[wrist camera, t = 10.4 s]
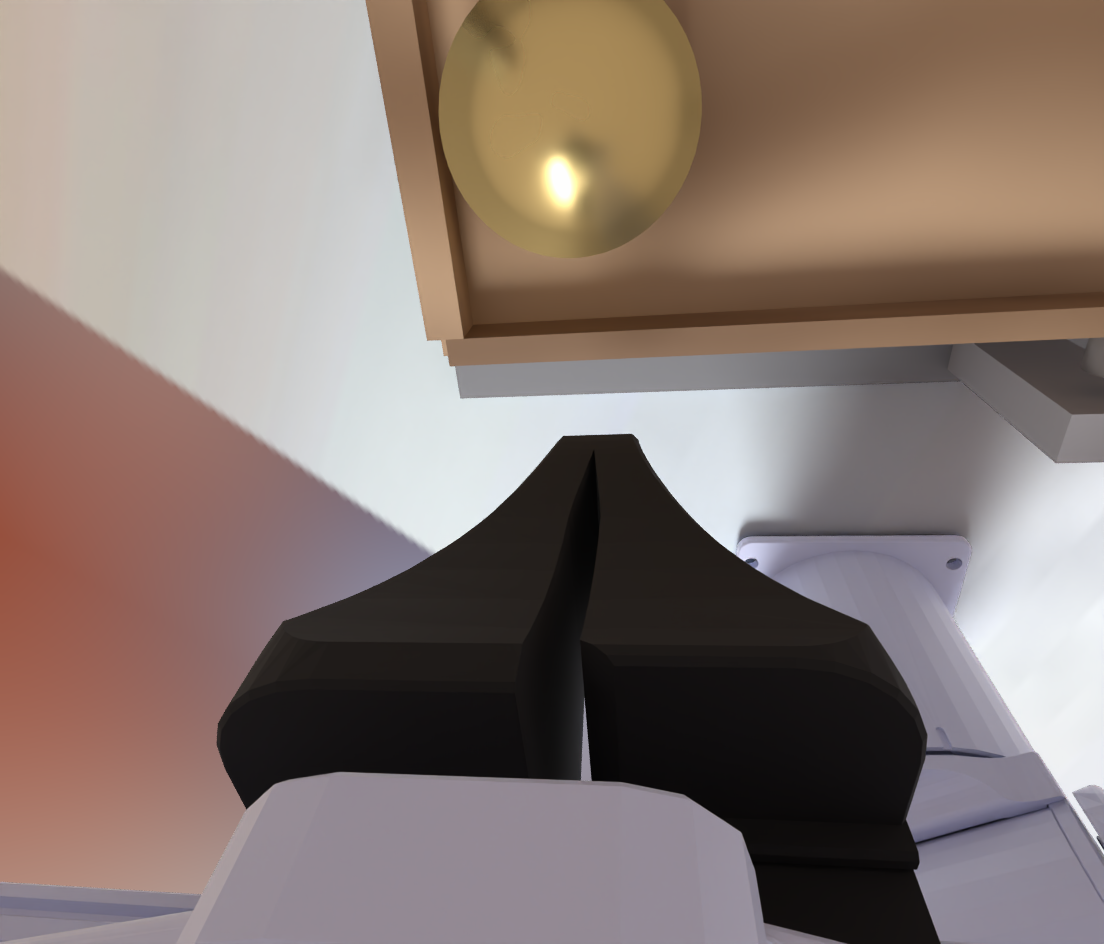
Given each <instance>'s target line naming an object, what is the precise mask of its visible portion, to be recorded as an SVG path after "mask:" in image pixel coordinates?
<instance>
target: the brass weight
mask: <svg viewBox="0 0 1104 944" xmlns="http://www.w3.org/2000/svg"><path fill="white" fill-rule="evenodd" d="M701 117H702V93H701V86H700V78H699V72H698V68H697V64H696V60H695V57H694V53H693V51H692V48H691V46H690V43H689V41H688V38H687V36H686V34H685V32H684V30H683V28H682V26H681V25H680V23H679V21H678V19H677V17H676V16H675V15H674V13H673V12H672V11H671V9H670V8H669V7H668V5H667V4H666V3H665V1H664V0H479V1H478V2H477V3H476V5H475V6H474V7H473V9H472V10H471V11H470V13H469V14H468V15H467V17H466V18H465V19H464V21H463V23H462V25H461V27H460V28H459V30H458V32H457V34H456V35H455V38H454V40H453V42H452V45H451V47H450V50H449V52H448V55H447V58H446V62H445V65H444V69H443V73H442V79H441V85H440V91H439V126H440V135H441V140H442V145H443V150H444V154H445V157H446V160H447V164H448V167H449V169H450V172H451V174H452V176H453V179H454V181H455V183H456V185H457V187H458V189H459V190H460V192H461V194H462V195H463V197H464V199H465V200H466V202H467V203H468V204H469V206H470V207H471V208H472V210H473V211H474V212H475V214H476V215H477V216H478V217H479V218H480V219H481V220H482V221H483V222H484V223H485V224H486V225H487V226H488V227H489V228H491V229H492V230H493V231H494V232H496V233H497V234H498V235H499V236H501V237H502V238H504V239H506V240H507V241H509V242H510V243H512V244H514V245H516V246H518V247H520V248H523V249H525V250H527V251H530V252H533V253H537V254H540V255H544V256H550V257H556V258H581V257H589V256H593V255H597V254H601V253H605V252H608V251H610V250H613V249H615V248H618V247H620V246H622V245H624V244H625V243H627V242H629V241H631V240H633V239H634V238H636V237H637V236H638V235H640V234H641V233H642V232H644V231H645V230H647V229H648V228H649V227H650V226H651V225H652V224H653V223H654V222H655V221H656V220H657V219H658V218H659V217H660V216H661V215H662V214H663V213H664V211H665V210H666V209H667V208H668V207H669V205H670V204H671V203H672V201H673V200H674V198H675V197H676V195H677V193H678V192H679V190H680V189H681V187H682V185H683V183H684V181H685V179H686V177H687V175H688V173H689V170H690V167H691V165H692V162H693V159H694V156H695V153H696V149H697V144H698V140H699V135H700V127H701Z"/></svg>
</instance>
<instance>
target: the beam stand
mask: <svg viewBox="0 0 1104 944" xmlns="http://www.w3.org/2000/svg"><path fill="white" fill-rule="evenodd" d="M1088 340H1089V338H1079V339H1056V340H1033V341H1011V342H988V343H966V344H943V345H920V346H898V347H875V348H852V349H830V350H807V351H785V352H762V353H739V354H717V355H694V356H672V357H649V358H626V359H604V360H581V361H559V362H536V363H513V364H491V365H468V366H455V368H456V374H457V380H458V386H459V392H460V398H485V397H514V396H543V395H572V394H602V393H631V392H660V391H689V390H718V389H747V388H776V387H805V386H834V385H863V384H892V383H922V382H951V381H961V382H963V383H964V384H965V385H966V386H967V387H968V388H969V389H971V390H972V391H973V392H974V393H975V394H976V395H978V396H979V397H980V398H981V399H982V400H983V401H985V402H986V403H987V404H988V405H989V406H990V407H991V408H993V409H994V410H995V411H996V412H997V413H998V414H1000V415H1001V416H1002V417H1003V418H1004V419H1005V420H1006V421H1008V422H1009V423H1010V424H1011V425H1012V426H1013V427H1015V428H1016V429H1017V430H1018V431H1019V432H1020V433H1022V434H1023V435H1024V436H1025V437H1026V438H1027V439H1028V440H1030V441H1031V442H1032V443H1033V444H1034V445H1035V446H1037V447H1038V448H1039V449H1040V450H1041V451H1042V452H1043V453H1045V454H1046V455H1047V456H1048V457H1049V458H1050V459H1052V460H1053V461H1054V462H1055V463H1088V462H1104V377H1099V376H1095V375H1092V374H1089V373H1087V372H1085V371H1083V370H1082V369H1081V368H1080V364H1081V361H1082V358H1083V355H1084V352H1085V349H1086V346H1087V343H1088Z"/></svg>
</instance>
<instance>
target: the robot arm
mask: <svg viewBox="0 0 1104 944" xmlns="http://www.w3.org/2000/svg"><path fill="white" fill-rule="evenodd" d="M971 553H972V547H971V545H970V543H969V542H968V541H967V539H966V538H964V537H962V536H957V535H915V536H750V537H746V538H744V539H742V540H741V541H740V542H739V543H738V545H737V553H736V555H735V554H733V553H732V552H730V551H729V550H727V549H726V548H725V547H724V546H722V545H721V544H720V543H718V542H717V541H716V540H715V539H714V538H713V537H711V536H710V535H709V534H708V533H707V532H706V531H705V530H704V529H703V528H702V527H701V526H700V525H699V524H698V523H696V521H695V520H694V519H693V518H692V517H691V516H690V515H689V514H688V513H687V512H686V511H685V510H684V509H683V507H682V506H681V505H680V504H679V503H678V502H677V501H676V499H675V498H674V497H673V496H672V494H671V493H670V492H669V491H668V489H667V488H666V487H665V485H664V484H663V483H662V481H661V480H660V478H659V477H658V476H657V474H656V473H655V471H654V470H653V468H652V467H651V465H650V463H649V462H648V460H647V458H646V457H645V455H644V453H643V451H642V449H641V447H640V444H639V441H638V439H637V438H636V437H635V436H634V435H633V434H613V435H580V436H563V437H562V438H561V439H560V440H559V441H558V442H557V443H556V444H555V446H554V447H553V448H552V449H551V451H550V452H549V453H548V454H547V455H546V457H545V458H544V459H543V460H542V461H541V463H540V464H539V465H538V466H537V467H536V469H535V470H534V471H533V472H532V473H531V474H530V475H529V476H528V477H527V478H526V480H525V481H524V482H523V483H522V484H521V485H520V486H519V487H518V488H517V489H516V490H515V491H514V492H513V493H512V494H511V495H510V496H509V497H508V498H507V499H506V500H505V501H504V502H503V503H502V504H501V505H500V506H499V507H498V508H497V509H496V510H495V511H494V512H492V513H491V514H490V515H489V516H488V517H486V518H485V519H484V520H483V521H481V522H480V523H479V524H478V525H476V526H475V527H474V528H472V529H471V530H470V531H468V532H467V533H466V534H464V535H463V536H461V537H460V538H459V539H457V540H456V541H454V542H453V543H451V544H450V545H448V546H447V547H445V548H443V549H442V550H440V551H438V552H437V553H435V554H433V555H432V556H430V557H428V558H427V559H425V560H423V561H422V562H420V563H419V564H417V565H415V566H414V567H412V568H410V569H408V570H406V571H404V572H402V573H400V574H398V575H397V576H394V577H392V578H390V579H388V580H386V581H385V582H382V583H380V584H378V585H376V586H373V587H372V588H369V589H367V590H365V591H363V592H360V593H358V594H356V595H353V596H351V597H349V598H346V599H344V600H341V601H338V602H335V603H333V604H330V605H328V606H325V607H322V608H319V609H317V610H314V611H311V612H309V613H306V614H303V615H301V616H298V617H295V618H292V619H289V620H286V621H283V622H282V624H281V625H280V627H279V628H278V629H277V631H276V632H275V634H274V635H273V636H272V638H271V639H270V641H269V642H268V644H267V645H266V646H265V648H264V650H263V651H262V653H261V654H260V656H259V657H258V659H257V661H256V662H255V664H254V665H253V667H252V668H251V670H250V672H249V673H248V675H247V677H246V678H245V680H244V681H243V683H242V684H241V686H240V688H239V689H238V691H237V693H236V694H235V696H234V697H233V699H232V700H231V702H230V704H229V705H228V707H227V709H226V710H225V712H224V714H223V716H222V717H221V719H220V721H219V723H218V731H217V747H218V750H219V753H220V756H221V759H222V762H223V764H224V767H225V769H226V772H227V773H228V775H229V777H230V779H231V781H232V783H233V785H234V787H235V789H236V790H237V792H238V794H239V796H240V798H241V800H242V802H243V804H244V805H245V807H246V809H247V810H246V811H245V813H244V815H243V817H242V818H241V820H240V822H239V824H238V826H237V828H236V830H235V832H234V834H233V836H232V838H231V840H230V841H229V843H228V845H227V847H226V849H225V851H224V853H223V855H222V857H221V859H220V860H219V862H218V864H217V866H216V868H215V870H214V872H213V874H212V876H211V878H210V880H209V882H208V883H207V885H206V887H205V889H204V891H203V893H202V895H201V894H186V893H170V892H153V891H137V890H121V889H105V888H90V887H74V886H58V885H41V884H25V883H10V882H0V944H1104V855H1103V853H1102V851H1101V850H1100V848H1099V847H1098V845H1097V843H1096V842H1095V840H1094V839H1093V837H1092V836H1091V834H1090V832H1089V831H1088V829H1087V828H1086V826H1085V825H1084V823H1083V822H1082V820H1081V819H1080V817H1079V816H1078V814H1077V812H1076V811H1075V809H1074V808H1073V806H1072V805H1071V803H1070V802H1069V800H1068V799H1067V797H1066V796H1065V794H1064V792H1063V791H1062V789H1061V788H1060V786H1059V785H1058V783H1057V782H1056V780H1055V779H1054V777H1053V776H1052V774H1051V772H1050V771H1049V769H1048V768H1047V766H1046V765H1045V763H1044V762H1043V760H1042V759H1041V757H1040V756H1039V754H1038V753H1036V752H1035V751H1034V749H1033V748H1032V746H1031V745H1030V743H1029V741H1028V740H1027V738H1026V736H1025V735H1024V733H1023V732H1022V730H1021V728H1020V727H1019V725H1018V723H1017V722H1016V720H1015V718H1014V717H1013V715H1012V714H1011V712H1010V710H1009V709H1008V707H1007V705H1006V704H1005V702H1004V701H1003V699H1002V697H1001V696H1000V694H999V692H998V691H997V689H996V688H995V686H994V684H993V683H992V681H991V679H990V678H989V676H988V674H987V673H986V671H985V670H984V668H983V666H982V665H981V663H980V661H979V660H978V658H977V657H976V655H975V653H974V652H973V650H972V648H971V647H970V645H969V644H968V642H967V640H966V639H965V637H964V635H963V634H962V632H961V630H960V629H959V627H958V626H957V624H956V622H955V621H954V619H953V616H954V613H955V609H956V606H957V602H958V599H959V595H960V592H961V588H962V585H963V581H964V578H965V574H966V571H967V567H968V564H969V560H970V557H971ZM750 558H754V559H756V560H755V561H754V562H752V563H746V562H745V561H746V560H747V559H750ZM953 558H957V559H956V560H955V561H954V562H952V563H947V562H948V561H949V560H950V559H953ZM584 697H585V708H586V719H587V729H588V742H589V754H590V766H591V778H592V781H581V761H582V737H583V714H584ZM1072 793H1073V795H1074V797H1075V798H1076V800H1077V801H1078V803H1079V805H1080V806H1081V808H1082V809H1083V811H1084V813H1085V814H1086V816H1087V817H1088V819H1089V821H1090V822H1091V824H1092V825H1093V827H1094V829H1095V830H1096V832H1097V833H1098V835H1099V836H1097V839H1098V841H1099V843H1100V844H1101V846H1102V848H1103V849H1104V790H1103V789H1102V788H1101V787H1099V786H1096V785H1089V786H1087V787H1084V788H1082V789H1079V790H1077V791H1074V792H1072Z"/></svg>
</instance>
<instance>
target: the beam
mask: <svg viewBox="0 0 1104 944" xmlns="http://www.w3.org/2000/svg"><path fill="white" fill-rule="evenodd" d="M478 1H479V0H366V6H367V11H368V17H369V22H370V28H371V33H372V39H373V44H374V50H375V55H376V61H377V66H378V72H379V77H380V83H381V88H382V94H383V99H384V105H385V110H386V116H387V121H388V127H389V132H390V138H391V143H392V149H393V154H394V160H395V165H396V171H397V176H398V182H399V188H400V193H401V199H402V204H403V210H404V215H405V221H406V226H407V232H408V237H409V243H410V248H411V254H412V259H413V265H414V270H415V276H416V281H417V287H418V292H419V298H420V303H421V309H422V314H423V320H424V325H425V331H426V336H427V341H429V340H441V342H442V348H443V353H444V356H448V358H449V364H450V366H468V365H491V364H513V363H536V362H559V361H581V360H604V359H626V358H649V357H672V356H694V355H717V354H739V353H762V352H785V351H807V350H830V349H852V348H875V347H898V346H920V345H943V344H966V343H988V342H1011V341H1033V340H1056V339H1079V338H1089V340H1088V343H1087V346H1086V349H1085V352H1084V355H1083V358H1082V361H1081V364H1080V368H1081V369H1082V370H1083V371H1085V372H1087V373H1089V374H1092V375H1095V376H1099V377H1104V0H664V1H665V3H666V4H667V5H668V7H669V8H670V9H671V11H672V12H673V13H674V15H675V16H676V17H677V19H678V21H679V23H680V25H681V26H682V28H683V30H684V32H685V34H686V36H687V38H688V41H689V43H690V46H691V48H692V51H693V53H694V57H695V60H696V64H697V68H698V72H699V78H700V86H701V93H702V117H701V127H700V135H699V140H698V144H697V149H696V153H695V156H694V159H693V162H692V165H691V167H690V170H689V173H688V175H687V177H686V179H685V181H684V183H683V185H682V187H681V189H680V190H679V192H678V193H677V195H676V197H675V198H674V200H673V201H672V203H671V204H670V205H669V207H668V208H667V209H666V210H665V211H664V213H663V214H662V215H661V216H660V217H659V218H658V219H657V220H656V221H655V222H654V223H653V224H652V225H651V226H650V227H649V228H648V229H647V230H645V231H644V232H642V233H641V234H640V235H638V236H637V237H636V238H634V239H633V240H631V241H629V242H627V243H625V244H624V245H622V246H620V247H618V248H615V249H613V250H610V251H608V252H605V253H601V254H597V255H593V256H589V257H581V258H556V257H550V256H544V255H540V254H537V253H533V252H530V251H527V250H525V249H523V248H520V247H518V246H516V245H514V244H512V243H510V242H509V241H507V240H506V239H504V238H502V237H501V236H499V235H498V234H497V233H496V232H494V231H493V230H492V229H491V228H489V227H488V226H487V225H486V224H485V223H484V222H483V221H482V220H481V219H480V218H479V217H478V216H477V215H476V214H475V212H474V211H473V210H472V208H471V207H470V206H469V204H468V203H467V202H466V200H465V199H464V197H463V195H462V194H461V192H460V190H459V189H458V187H457V185H456V183H455V181H454V179H453V176H452V174H451V172H450V169H449V167H448V164H447V160H446V157H445V154H444V150H443V145H442V140H441V135H440V126H439V91H440V85H441V79H442V73H443V69H444V65H445V62H446V58H447V55H448V52H449V50H450V47H451V45H452V42H453V40H454V38H455V35H456V34H457V32H458V30H459V28H460V27H461V25H462V23H463V21H464V19H465V18H466V17H467V15H468V14H469V13H470V11H471V10H472V9H473V7H474V6H475V5H476V3H477V2H478Z"/></svg>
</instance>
